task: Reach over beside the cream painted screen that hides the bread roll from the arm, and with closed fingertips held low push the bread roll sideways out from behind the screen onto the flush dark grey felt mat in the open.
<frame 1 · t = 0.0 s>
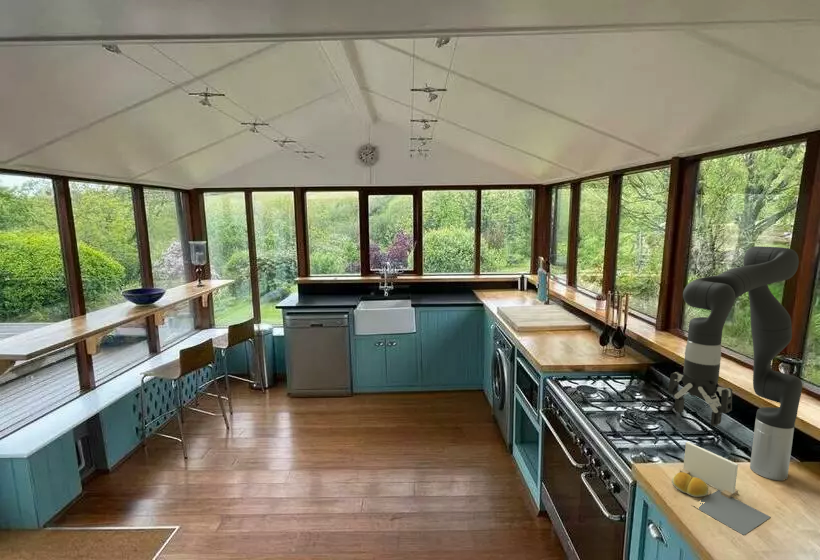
hand: (696, 418, 110), 29 cm above the worktop, fingers open, 8 cm apart
screen: (707, 482, 130), on the worktop
mat: (730, 511, 118), on the worktop
bread roll: (689, 489, 127), on the worktop, touching mat
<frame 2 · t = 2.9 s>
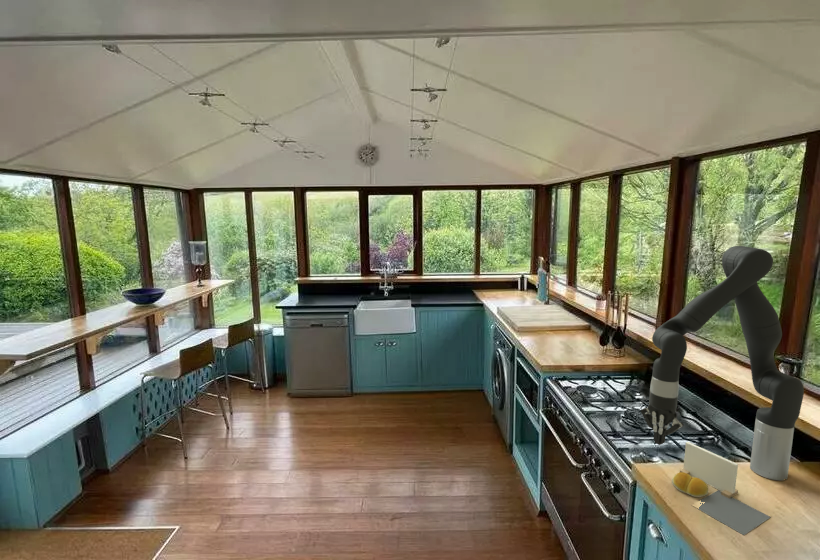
hand: (658, 443, 134), 10 cm above the worktop, fingers closed
nothing on the worktop moved.
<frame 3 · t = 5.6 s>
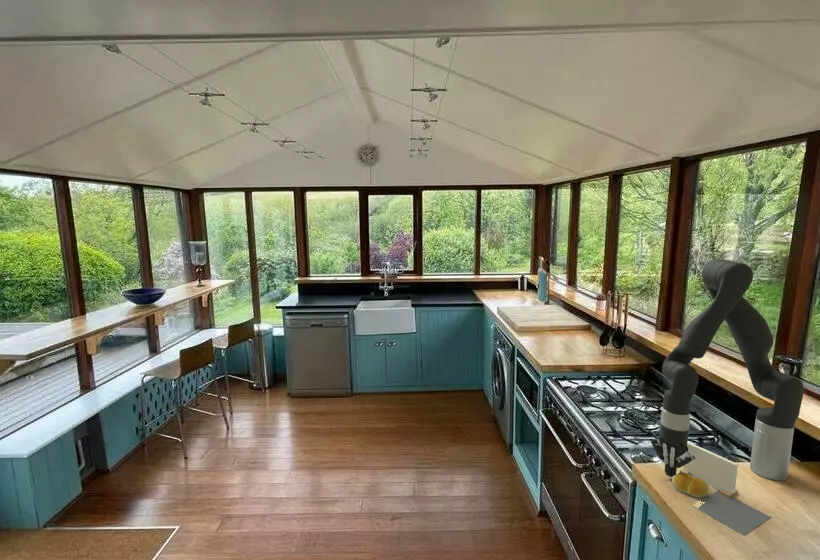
hand: (669, 475, 132), 1 cm above the worktop, fingers closed
bread roll: (689, 489, 127), on the worktop, touching gripper, mat
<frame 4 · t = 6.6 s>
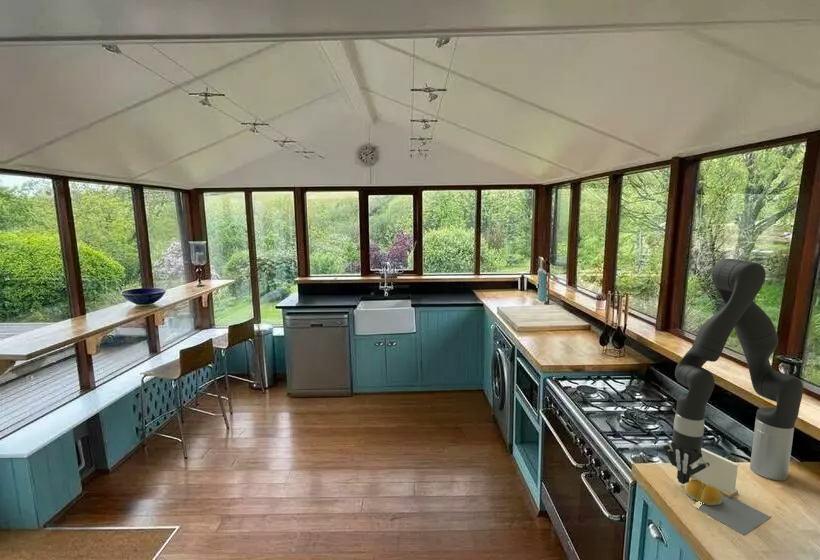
hand: (682, 482, 129), 1 cm above the worktop, fingers closed
bread roll: (702, 497, 123), on the worktop, touching gripper, mat
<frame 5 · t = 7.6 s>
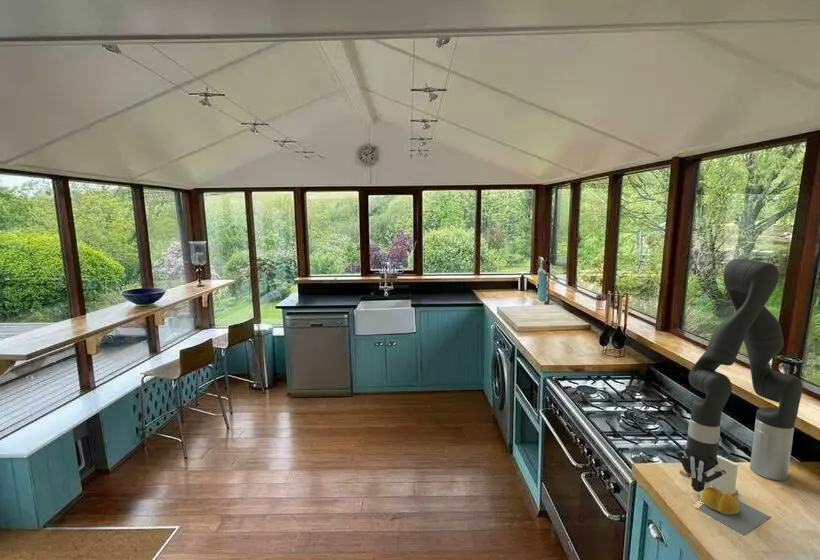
hand: (697, 490, 125), 1 cm above the worktop, fingers closed
bread roll: (718, 505, 120), resting on mat, touching gripper
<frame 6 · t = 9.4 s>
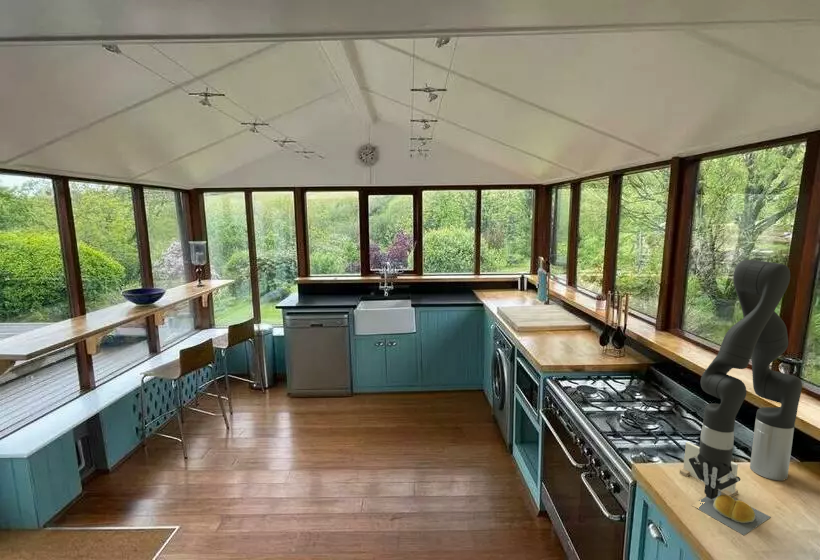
hand: (710, 497, 122), 1 cm above the worktop, fingers closed
bread roll: (732, 513, 117), resting on mat, touching gripper
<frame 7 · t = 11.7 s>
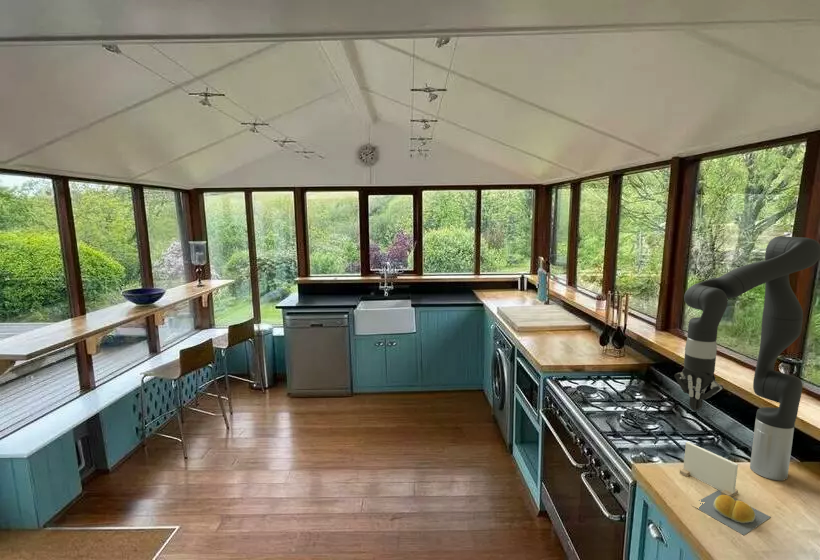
hand: (695, 409, 126), 24 cm above the worktop, fingers closed
bread roll: (732, 513, 117), resting on mat
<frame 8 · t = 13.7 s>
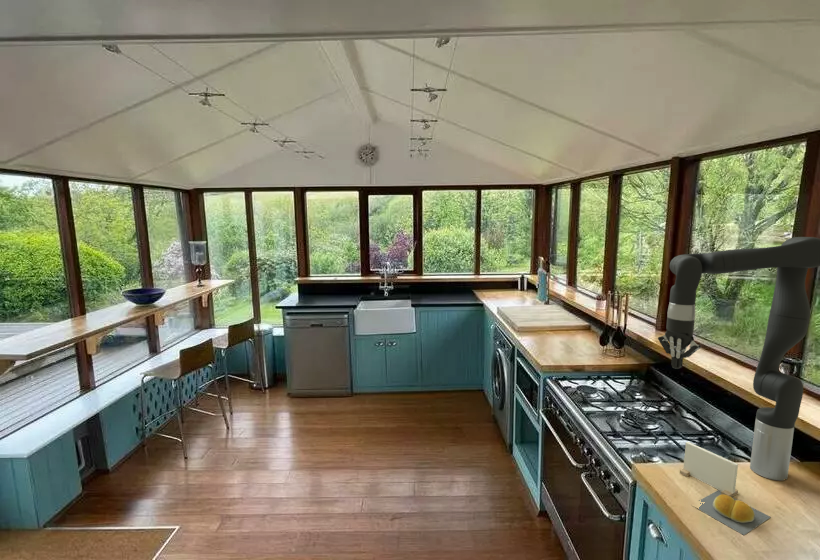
hand: (676, 368, 139), 32 cm above the worktop, fingers closed
nothing on the worktop moved.
at the end: bread roll inside the target area on the mat (0.5 cm from its centre), point 0.0 cm above the mat's base; bread roll moved 11.7 cm from its start; the gripper is holding nothing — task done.
